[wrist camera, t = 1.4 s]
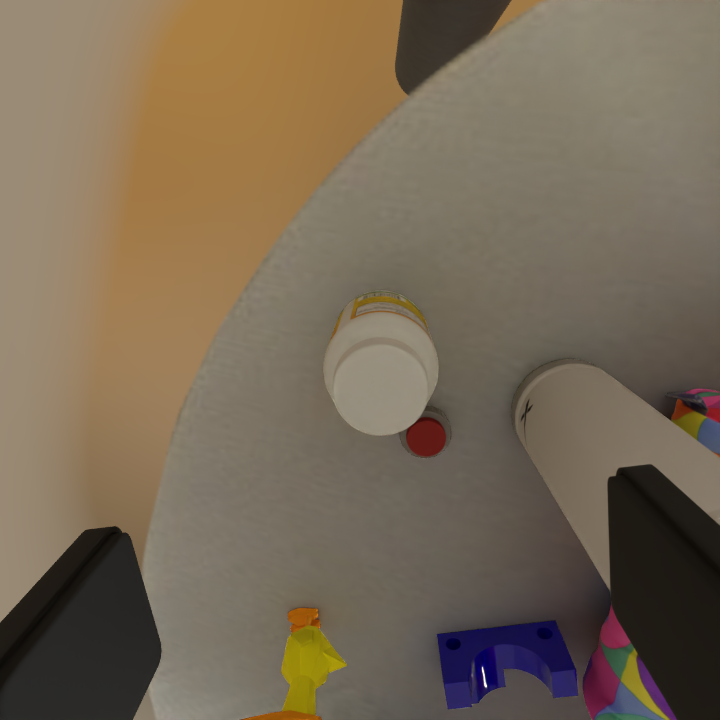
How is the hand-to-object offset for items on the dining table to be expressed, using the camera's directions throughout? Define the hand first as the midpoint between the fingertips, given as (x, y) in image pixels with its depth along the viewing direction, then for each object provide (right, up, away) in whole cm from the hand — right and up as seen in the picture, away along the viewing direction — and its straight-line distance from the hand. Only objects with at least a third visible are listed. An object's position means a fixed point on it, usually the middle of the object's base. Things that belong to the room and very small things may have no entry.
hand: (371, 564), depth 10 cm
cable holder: (+9, -16, +27) cm, 33 cm away
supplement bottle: (+1, +5, +21) cm, 22 cm away
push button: (+4, 0, +23) cm, 23 cm away
